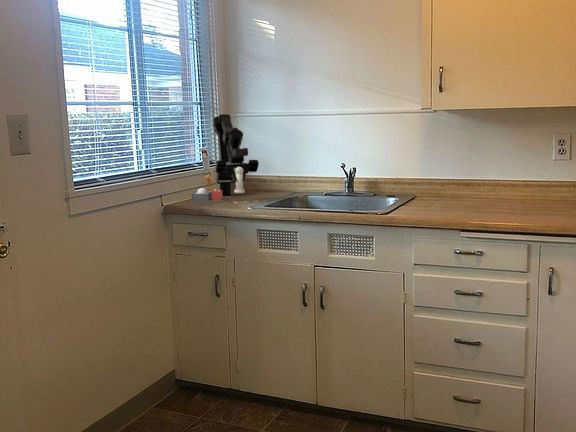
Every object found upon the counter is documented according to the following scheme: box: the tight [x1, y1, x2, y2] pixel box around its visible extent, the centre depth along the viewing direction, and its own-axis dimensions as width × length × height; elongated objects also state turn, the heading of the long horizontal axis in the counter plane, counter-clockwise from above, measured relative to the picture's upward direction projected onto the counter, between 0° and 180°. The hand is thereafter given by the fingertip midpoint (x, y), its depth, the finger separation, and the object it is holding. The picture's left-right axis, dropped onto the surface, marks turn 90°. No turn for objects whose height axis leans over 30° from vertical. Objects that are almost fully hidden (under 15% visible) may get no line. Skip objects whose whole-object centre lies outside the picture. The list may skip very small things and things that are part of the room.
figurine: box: [201, 173, 218, 192], centre depth 299 cm, size 8×6×12 cm
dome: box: [195, 187, 209, 194], centre depth 289 cm, size 6×6×5 cm
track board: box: [233, 199, 267, 204], centre depth 284 cm, size 16×6×1 cm, turn 116°
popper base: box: [190, 189, 229, 205], centre depth 289 cm, size 9×15×6 cm, turn 86°
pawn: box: [233, 167, 246, 194], centre depth 280 cm, size 5×5×11 cm
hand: (240, 180), depth 279 cm, fingers closed on pawn, 3 cm apart
